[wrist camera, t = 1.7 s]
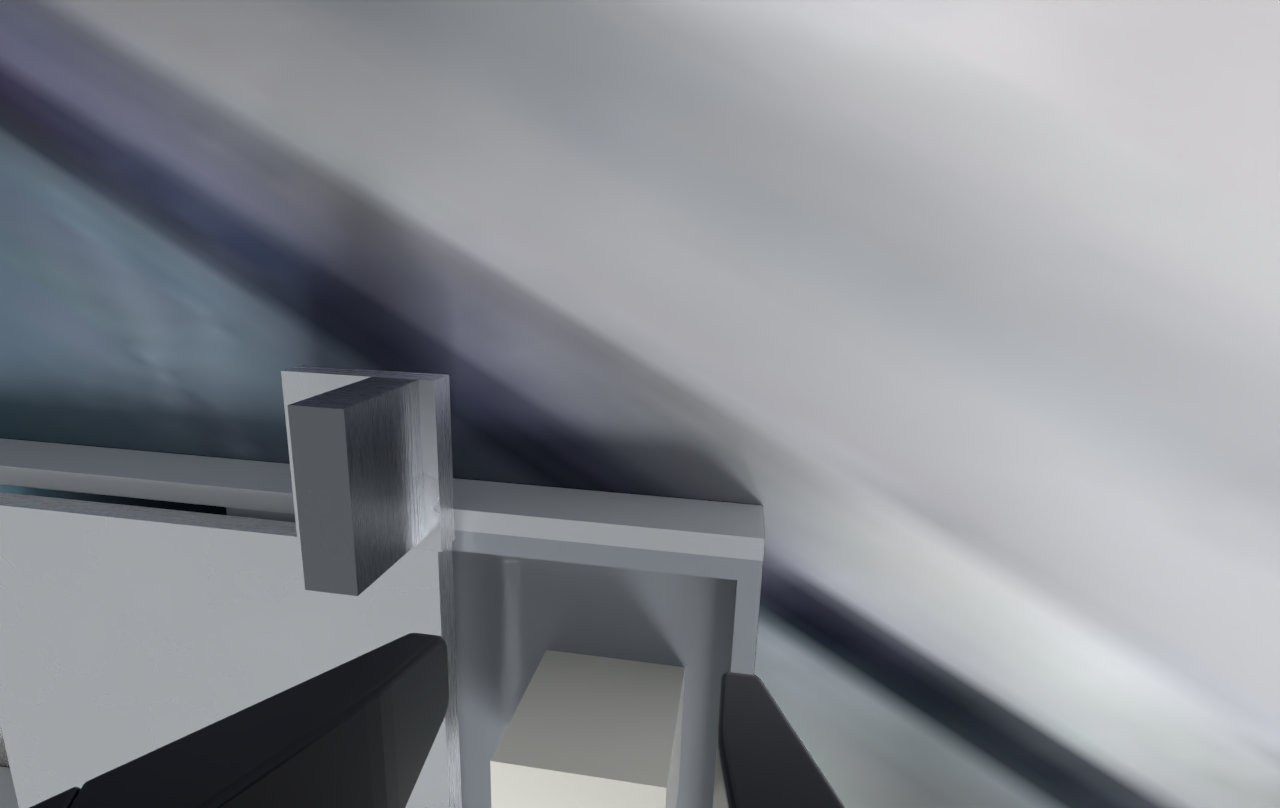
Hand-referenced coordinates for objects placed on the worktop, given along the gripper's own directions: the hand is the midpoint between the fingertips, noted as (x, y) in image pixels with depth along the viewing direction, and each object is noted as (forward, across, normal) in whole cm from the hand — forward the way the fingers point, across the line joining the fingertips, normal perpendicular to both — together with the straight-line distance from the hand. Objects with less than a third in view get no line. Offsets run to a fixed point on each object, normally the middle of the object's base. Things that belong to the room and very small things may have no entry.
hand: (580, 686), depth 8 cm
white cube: (+10, +2, +9) cm, 14 cm away
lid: (+9, +13, +7) cm, 17 cm away
